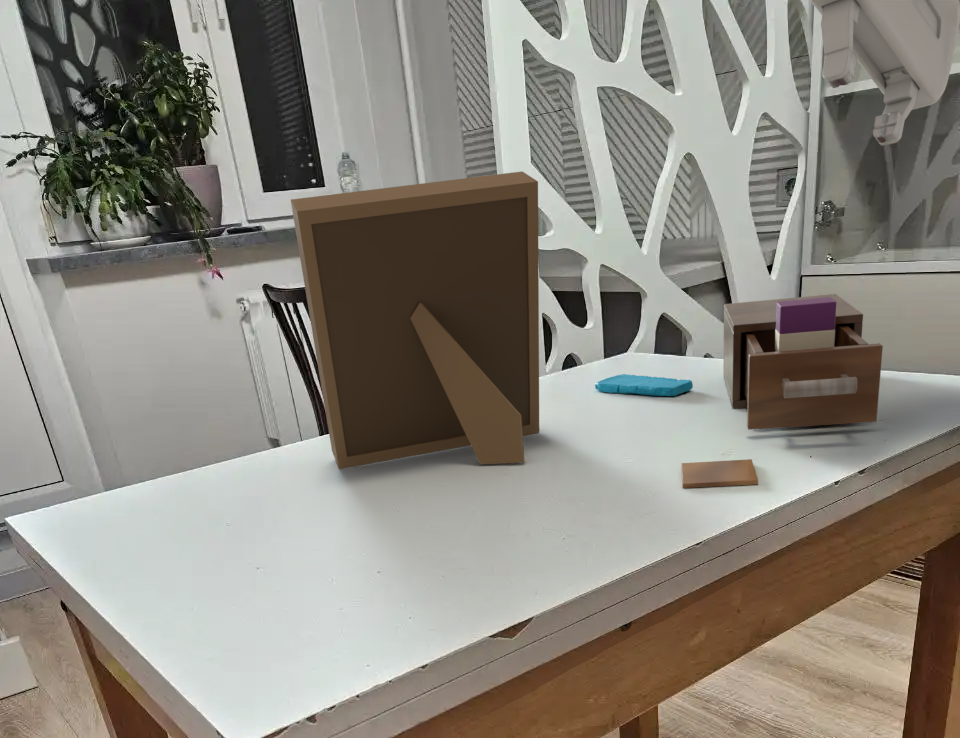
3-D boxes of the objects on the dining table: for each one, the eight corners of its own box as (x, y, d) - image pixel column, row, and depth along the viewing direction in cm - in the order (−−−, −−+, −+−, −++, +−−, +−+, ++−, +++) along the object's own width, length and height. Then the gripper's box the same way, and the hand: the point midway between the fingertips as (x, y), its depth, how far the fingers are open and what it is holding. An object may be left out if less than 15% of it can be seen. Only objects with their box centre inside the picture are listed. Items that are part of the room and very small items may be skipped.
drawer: (886, 433, 80) (893, 354, 77) (751, 441, 82) (753, 364, 79) (846, 386, 97) (851, 319, 94) (736, 394, 99) (737, 329, 96)
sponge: (660, 392, 104) (696, 376, 106) (590, 383, 113) (624, 368, 115) (662, 405, 104) (697, 389, 107) (592, 395, 114) (626, 380, 116)
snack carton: (825, 391, 92) (830, 296, 88) (831, 398, 88) (836, 301, 85) (773, 394, 93) (776, 301, 89) (777, 402, 90) (780, 306, 86)
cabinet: (857, 400, 95) (863, 313, 91) (732, 408, 97) (733, 325, 94) (831, 369, 109) (835, 293, 105) (723, 377, 112) (723, 304, 108)
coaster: (751, 463, 79) (751, 459, 79) (757, 484, 74) (758, 479, 74) (681, 467, 81) (681, 463, 80) (682, 488, 75) (682, 483, 75)
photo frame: (333, 459, 97) (285, 200, 86) (526, 425, 101) (504, 174, 90) (353, 496, 84) (300, 196, 73) (574, 455, 88) (555, 166, 77)
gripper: (884, -193, 59) (847, 25, 60) (980, -13, 74) (949, 160, 75) (793, -149, 64) (760, 54, 64) (901, 13, 78) (873, 176, 79)
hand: (862, 112), depth 70 cm, fingers open, 8 cm apart
